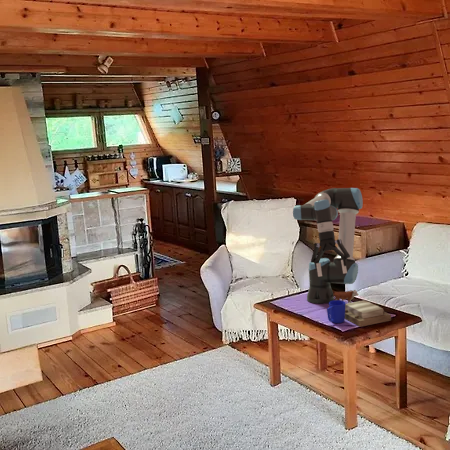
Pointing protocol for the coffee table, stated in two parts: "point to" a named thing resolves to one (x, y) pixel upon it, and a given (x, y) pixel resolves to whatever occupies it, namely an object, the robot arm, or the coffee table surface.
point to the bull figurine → (345, 295)
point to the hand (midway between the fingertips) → (332, 275)
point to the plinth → (370, 320)
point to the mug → (336, 311)
